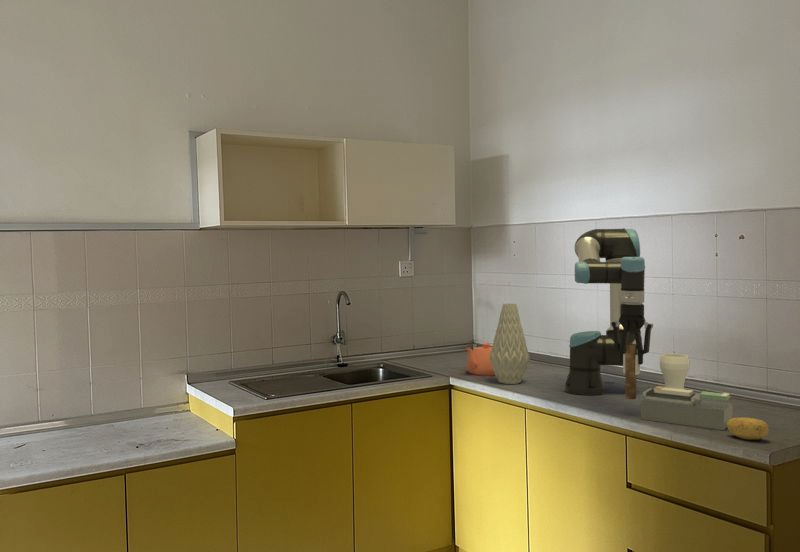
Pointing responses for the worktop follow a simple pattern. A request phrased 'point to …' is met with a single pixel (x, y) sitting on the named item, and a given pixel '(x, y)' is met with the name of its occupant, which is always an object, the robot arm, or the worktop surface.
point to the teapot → (480, 360)
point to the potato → (748, 428)
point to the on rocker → (714, 395)
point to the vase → (509, 347)
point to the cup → (674, 369)
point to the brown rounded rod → (630, 371)
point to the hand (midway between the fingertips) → (631, 373)
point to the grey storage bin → (685, 410)
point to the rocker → (673, 391)
